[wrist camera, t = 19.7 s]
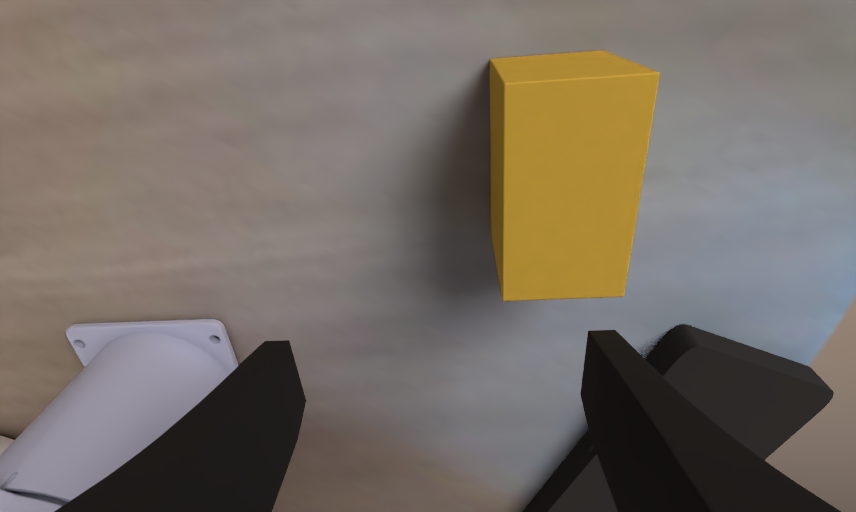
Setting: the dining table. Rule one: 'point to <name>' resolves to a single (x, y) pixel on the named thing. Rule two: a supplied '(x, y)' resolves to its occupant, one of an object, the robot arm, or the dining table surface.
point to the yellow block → (567, 171)
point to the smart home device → (704, 408)
